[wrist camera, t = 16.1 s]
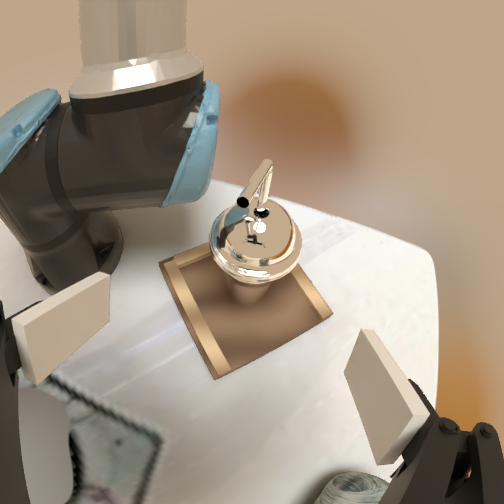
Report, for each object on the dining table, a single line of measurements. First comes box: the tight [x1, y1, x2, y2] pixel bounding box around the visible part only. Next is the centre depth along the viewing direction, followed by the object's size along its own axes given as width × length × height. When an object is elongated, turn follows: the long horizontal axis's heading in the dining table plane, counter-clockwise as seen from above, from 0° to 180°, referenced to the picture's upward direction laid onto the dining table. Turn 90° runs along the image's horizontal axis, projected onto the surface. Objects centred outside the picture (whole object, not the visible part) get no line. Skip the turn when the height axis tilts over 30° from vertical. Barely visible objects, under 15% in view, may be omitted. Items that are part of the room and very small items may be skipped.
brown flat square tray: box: [158, 242, 333, 380], centre depth 34 cm, size 16×16×2 cm
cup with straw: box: [209, 159, 302, 306], centre depth 25 cm, size 8×9×20 cm
